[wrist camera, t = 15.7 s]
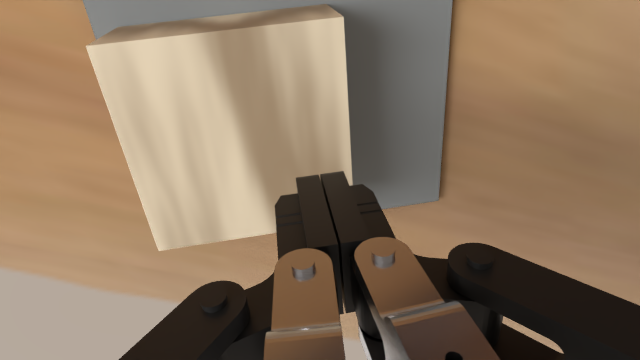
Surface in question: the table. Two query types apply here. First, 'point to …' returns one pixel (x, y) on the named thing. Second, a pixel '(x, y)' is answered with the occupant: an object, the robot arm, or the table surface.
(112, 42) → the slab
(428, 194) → the mat
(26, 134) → the table surface
